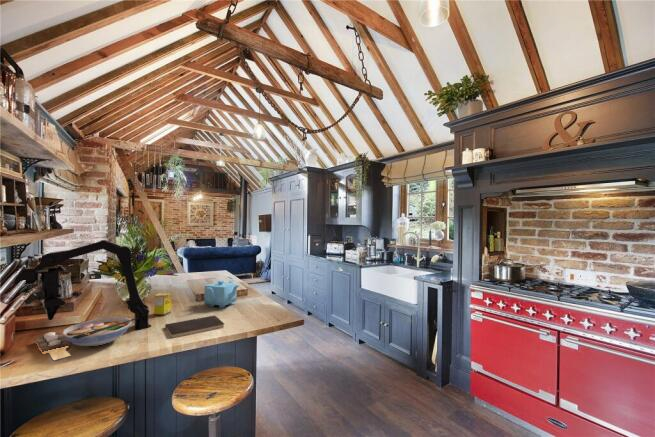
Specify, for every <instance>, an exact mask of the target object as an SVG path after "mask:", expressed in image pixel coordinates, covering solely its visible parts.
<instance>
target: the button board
mask: <svg viewBox="0 0 655 437" xmlns="http://www.w3.org/2000/svg"><path fill="white" fill-rule="evenodd" d="M55 335H58V340H61V344H56V345H52V346H48V345H49V342H48V343H46V342H47V339H45V340H44V335H41V336H38V337H37V336H36V337H34V341H35V340H36V342H37V343H38V345H39V347H40V348H41V350H42V352H44V351H48V350H52V349H56V348H61V347H65V346H69V345H70V346H71V342H70V341H69V340H68V339H67V338H66V337H65V336H64V335H63V332H55Z"/></svg>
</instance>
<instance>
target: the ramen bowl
mask: <svg viewBox="0 0 655 437" xmlns="http://www.w3.org/2000/svg"><path fill="white" fill-rule="evenodd" d="M135 319H138V318H135V317H134V318H133V319H132V318H129V317H122V316H113V317H111V316H110V317H101V318H95V319H91V320H86V321H82V322H80V323H79V322H78V323H77V324H73V325H70V326H69V327H67V328H64V329H63V332H62V334H63V335H64V336H65V337H66V338H67V340H68V341H69V342H70V343H72V344H73V345H76V346H80V347H88V346H98V345H102V346H104V345H103V344H105V345H107V344H106V343H108V344H109V343H111V342H113V341H115V340H118V339H119V338H120V337H121V336H123V335H124V334H125V333H126V331H128V330H129V327H130V326H132V325H131V324H132V322H133V321H134V320H135ZM98 347H99V346H98Z"/></svg>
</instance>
